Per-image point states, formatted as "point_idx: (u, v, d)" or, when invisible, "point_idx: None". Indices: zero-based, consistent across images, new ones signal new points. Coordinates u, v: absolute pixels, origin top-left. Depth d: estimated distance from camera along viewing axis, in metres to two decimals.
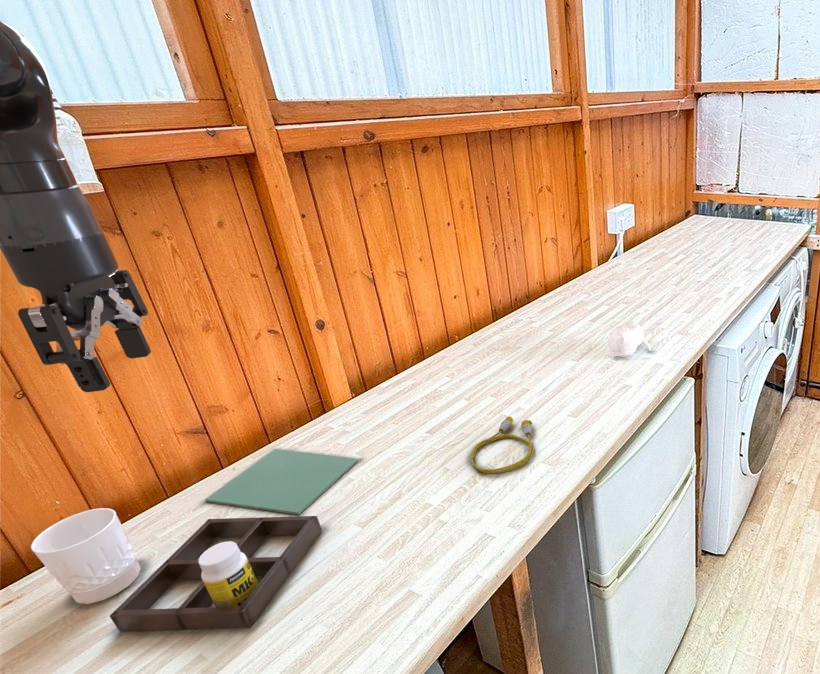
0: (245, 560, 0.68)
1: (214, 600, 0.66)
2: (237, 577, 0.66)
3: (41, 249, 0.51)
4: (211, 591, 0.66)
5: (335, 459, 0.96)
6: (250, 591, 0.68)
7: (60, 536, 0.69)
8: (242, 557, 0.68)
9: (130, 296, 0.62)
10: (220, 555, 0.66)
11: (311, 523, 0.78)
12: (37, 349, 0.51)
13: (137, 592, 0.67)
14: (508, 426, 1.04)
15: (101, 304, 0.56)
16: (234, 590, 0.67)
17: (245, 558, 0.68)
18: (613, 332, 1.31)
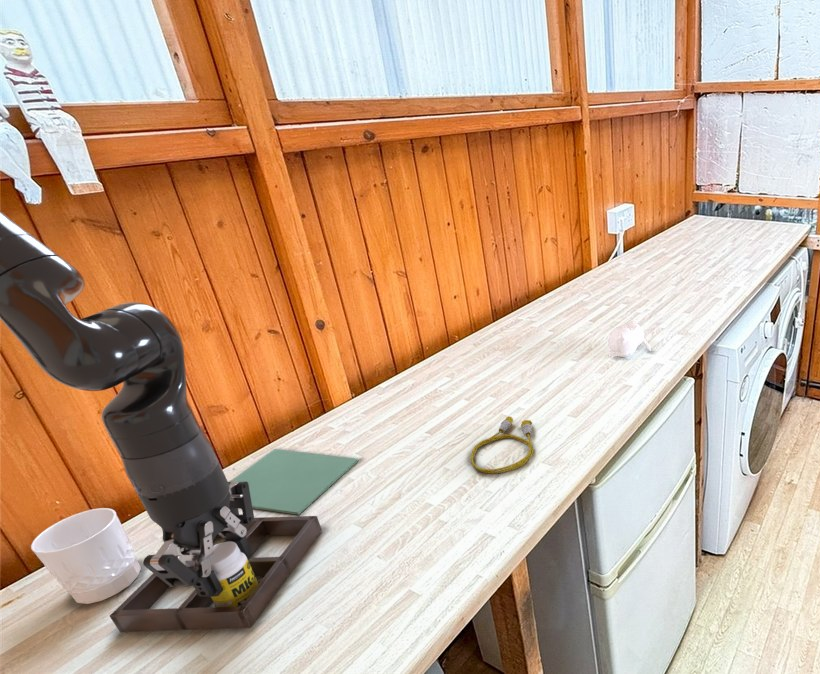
0: (245, 560, 0.68)
1: (214, 600, 0.66)
2: (237, 577, 0.66)
3: (162, 498, 0.58)
4: None
5: (335, 459, 0.96)
6: (250, 591, 0.68)
7: (60, 536, 0.69)
8: (242, 557, 0.68)
9: (242, 505, 0.69)
10: (220, 555, 0.66)
11: (311, 523, 0.78)
12: (164, 581, 0.60)
13: (137, 592, 0.67)
14: (508, 426, 1.04)
15: (211, 527, 0.63)
16: (234, 590, 0.67)
17: (245, 558, 0.68)
18: (613, 332, 1.31)
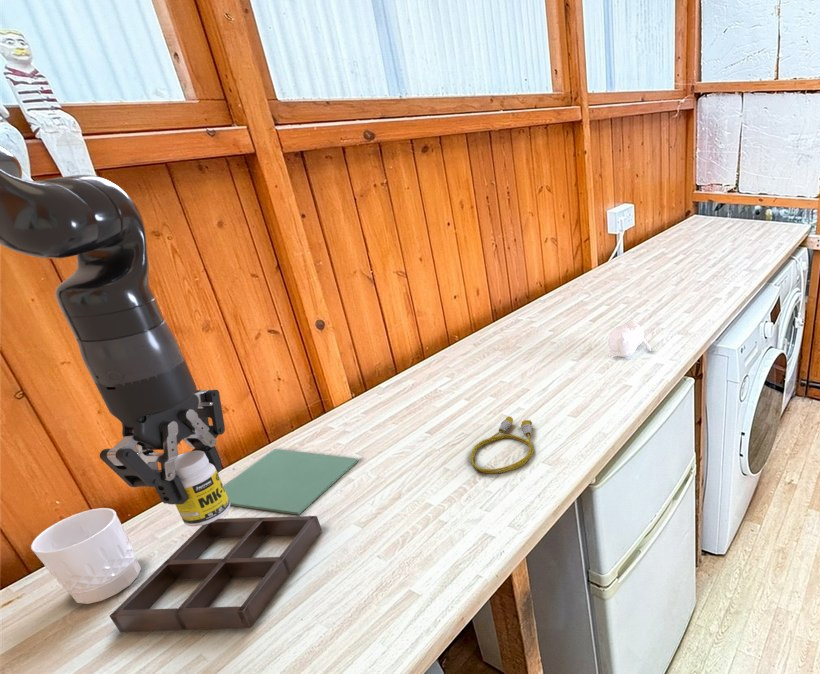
0: (214, 470, 0.65)
1: (180, 510, 0.63)
2: (204, 486, 0.63)
3: (120, 388, 0.54)
4: None
5: (335, 459, 0.96)
6: (219, 504, 0.65)
7: (60, 536, 0.69)
8: (210, 467, 0.64)
9: (212, 415, 0.66)
10: (187, 462, 0.62)
11: (311, 523, 0.78)
12: (123, 479, 0.57)
13: (137, 592, 0.67)
14: (508, 426, 1.04)
15: (175, 427, 0.60)
16: (201, 500, 0.63)
17: (214, 469, 0.65)
18: (613, 332, 1.31)
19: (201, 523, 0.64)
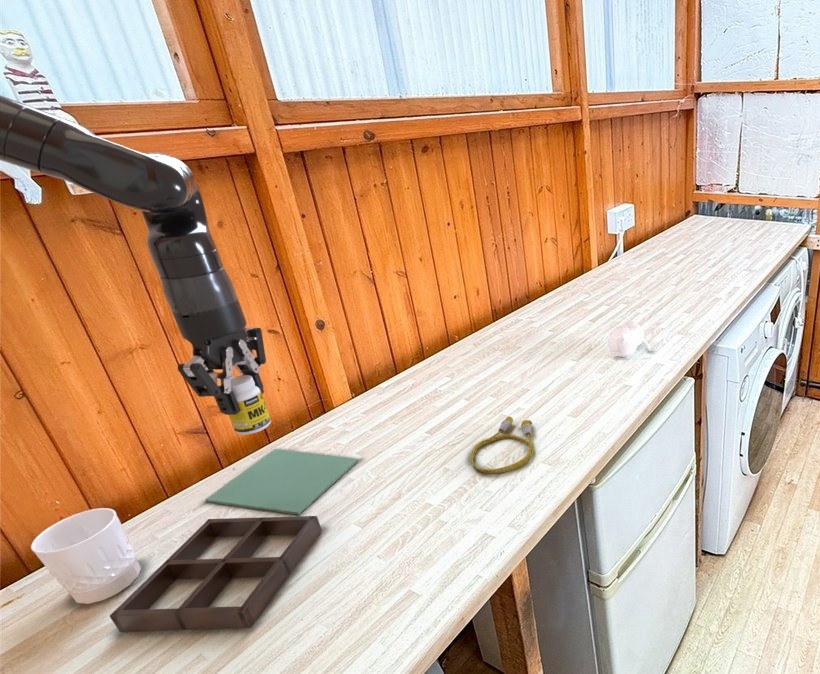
0: (259, 391, 0.81)
1: (233, 421, 0.80)
2: (252, 402, 0.80)
3: (193, 316, 0.71)
4: None
5: (335, 459, 0.96)
6: (263, 418, 0.82)
7: (60, 536, 0.69)
8: (256, 388, 0.81)
9: (256, 347, 0.82)
10: (239, 382, 0.79)
11: (311, 523, 0.78)
12: (193, 389, 0.73)
13: (137, 592, 0.67)
14: (508, 426, 1.04)
15: (231, 352, 0.76)
16: (250, 413, 0.80)
17: (259, 389, 0.81)
18: (613, 332, 1.31)
19: (249, 432, 0.81)
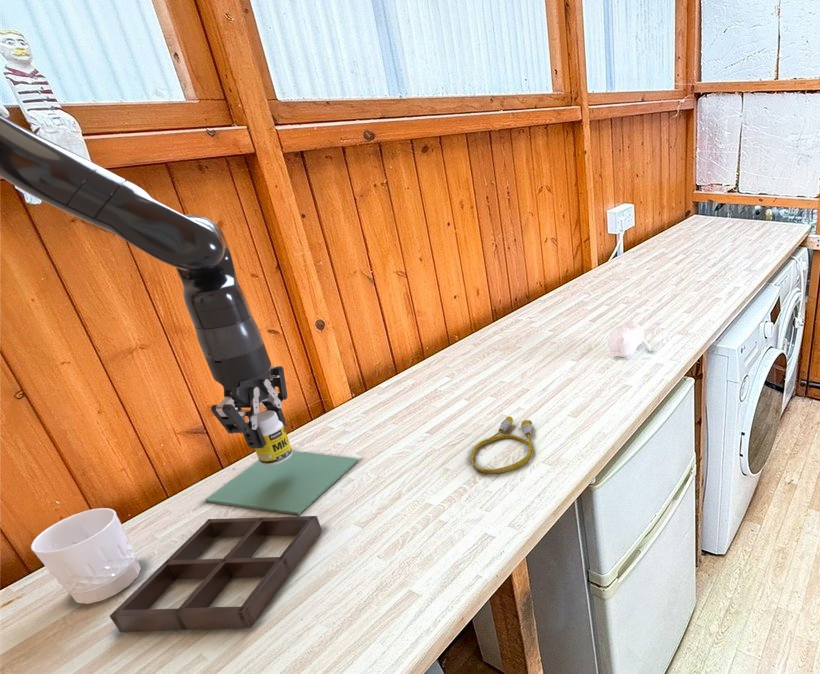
0: (282, 425, 0.88)
1: (259, 453, 0.86)
2: (276, 436, 0.86)
3: (224, 361, 0.78)
4: None
5: (335, 459, 0.96)
6: (285, 450, 0.88)
7: (60, 536, 0.69)
8: (279, 422, 0.88)
9: (279, 384, 0.89)
10: (264, 417, 0.86)
11: (311, 523, 0.78)
12: (224, 427, 0.80)
13: (137, 592, 0.67)
14: (508, 426, 1.04)
15: (258, 391, 0.83)
16: (274, 446, 0.86)
17: (282, 424, 0.88)
18: (613, 332, 1.31)
19: (273, 463, 0.87)
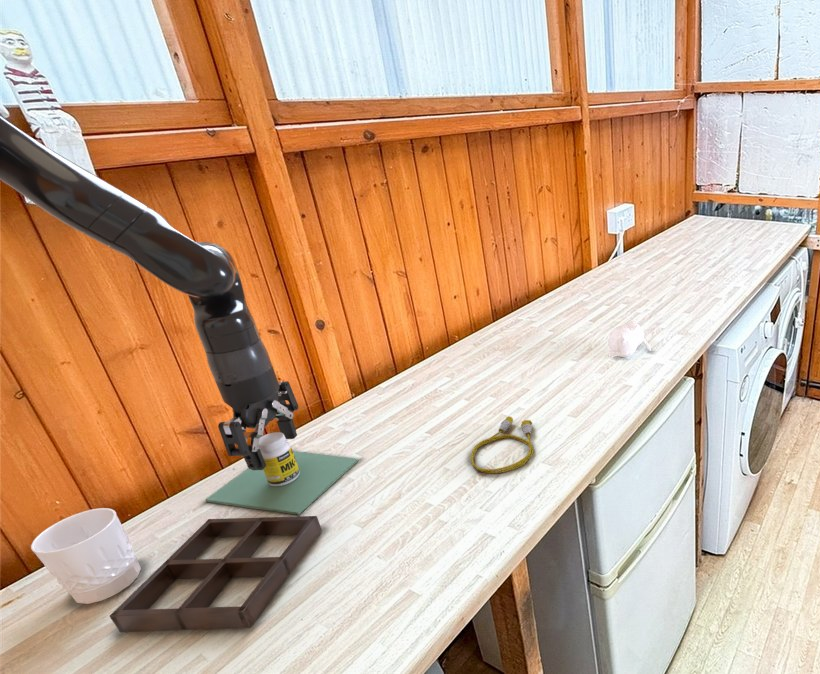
0: (289, 446, 0.90)
1: (267, 474, 0.88)
2: (284, 457, 0.88)
3: (234, 385, 0.79)
4: None
5: (335, 459, 0.96)
6: (293, 470, 0.90)
7: (60, 536, 0.69)
8: (287, 444, 0.90)
9: (288, 398, 0.91)
10: (272, 439, 0.87)
11: (311, 523, 0.78)
12: (226, 447, 0.80)
13: (137, 592, 0.67)
14: (508, 426, 1.04)
15: (266, 413, 0.84)
16: (282, 467, 0.88)
17: (289, 445, 0.90)
18: (613, 332, 1.31)
19: (281, 484, 0.89)
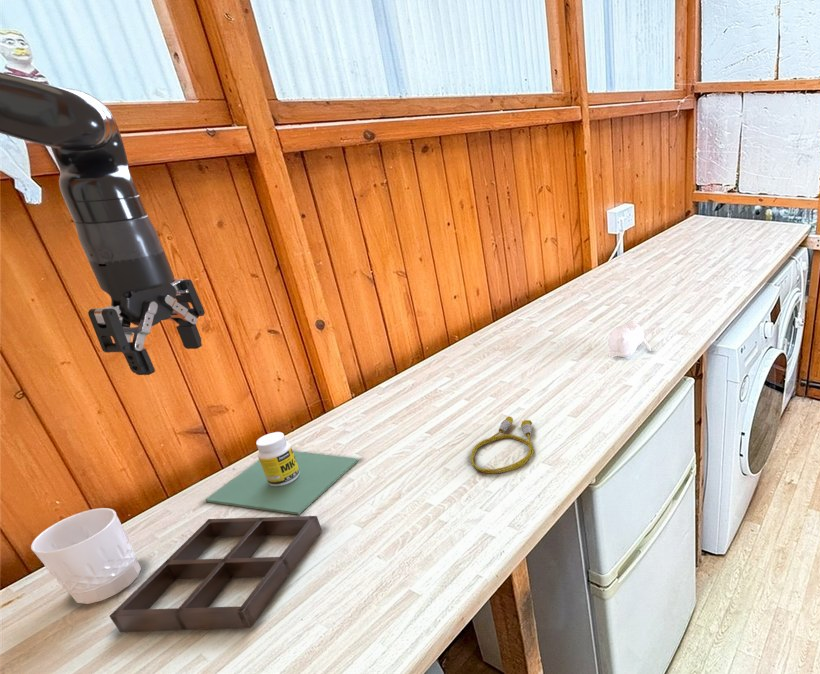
0: (289, 446, 0.90)
1: (267, 474, 0.88)
2: (284, 457, 0.88)
3: (110, 265, 0.67)
4: (265, 466, 0.87)
5: (335, 459, 0.96)
6: (293, 470, 0.90)
7: (60, 536, 0.69)
8: (287, 444, 0.90)
9: (190, 300, 0.78)
10: (272, 439, 0.87)
11: (311, 523, 0.78)
12: (99, 340, 0.67)
13: (137, 592, 0.67)
14: (508, 426, 1.04)
15: (155, 308, 0.72)
16: (282, 467, 0.88)
17: (289, 445, 0.90)
18: (613, 332, 1.31)
19: (281, 484, 0.89)
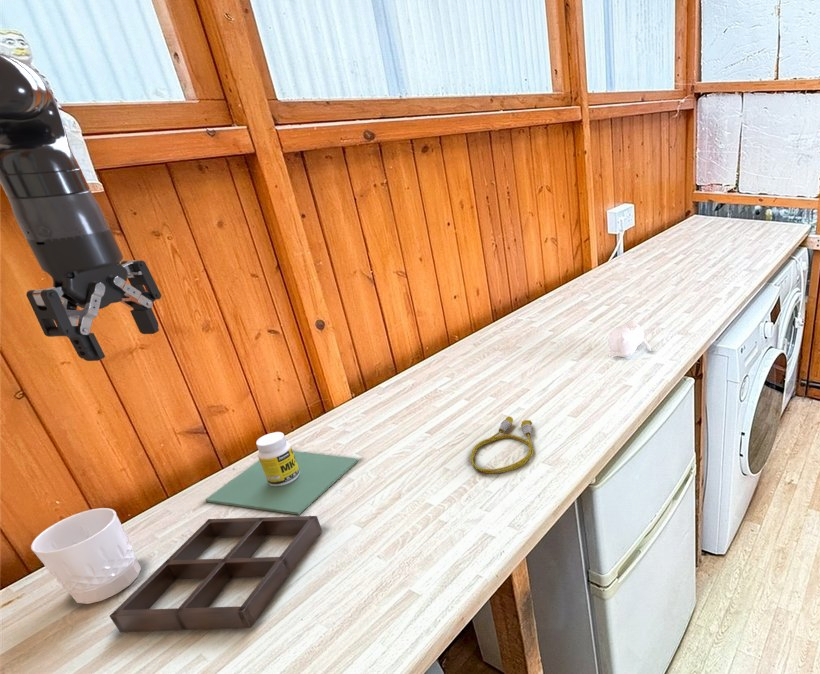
0: (289, 446, 0.90)
1: (267, 474, 0.88)
2: (284, 457, 0.88)
3: (49, 243, 0.63)
4: (265, 466, 0.87)
5: (335, 459, 0.96)
6: (293, 470, 0.90)
7: (60, 536, 0.69)
8: (287, 444, 0.90)
9: (144, 282, 0.74)
10: (272, 439, 0.87)
11: (311, 523, 0.78)
12: (40, 323, 0.63)
13: (137, 592, 0.67)
14: (508, 426, 1.04)
15: (102, 289, 0.68)
16: (282, 467, 0.88)
17: (289, 445, 0.90)
18: (613, 332, 1.31)
19: (281, 484, 0.89)
